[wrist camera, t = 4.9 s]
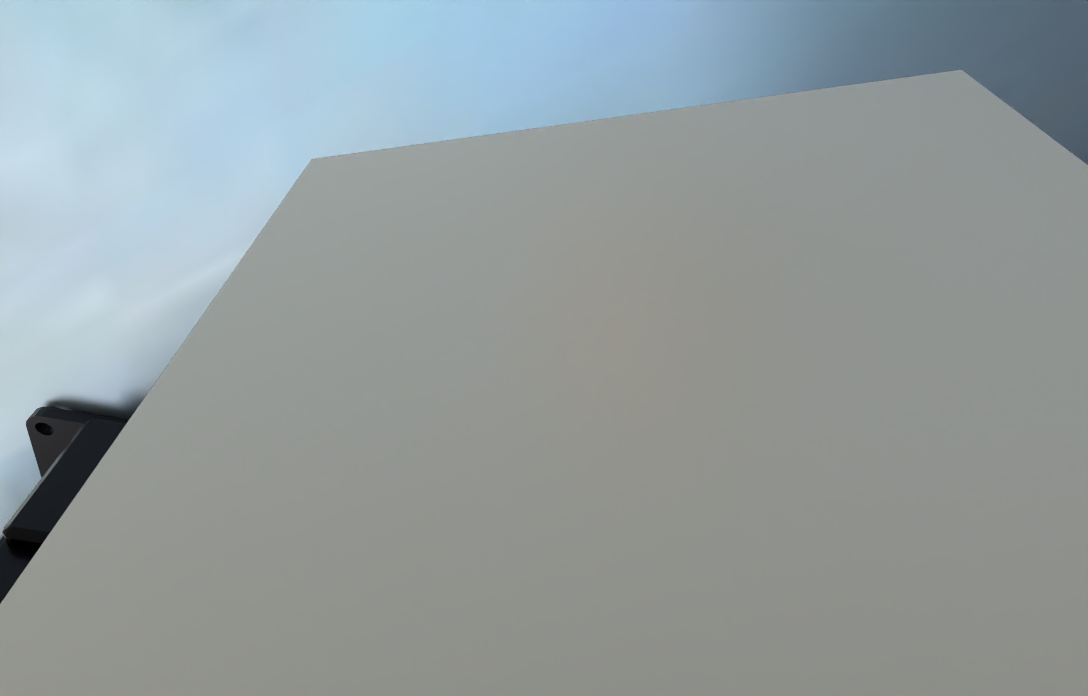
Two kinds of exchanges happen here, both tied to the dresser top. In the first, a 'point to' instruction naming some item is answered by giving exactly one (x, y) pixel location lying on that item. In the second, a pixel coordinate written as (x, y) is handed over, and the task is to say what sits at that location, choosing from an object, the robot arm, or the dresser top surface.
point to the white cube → (614, 424)
